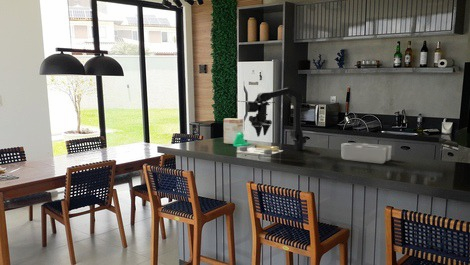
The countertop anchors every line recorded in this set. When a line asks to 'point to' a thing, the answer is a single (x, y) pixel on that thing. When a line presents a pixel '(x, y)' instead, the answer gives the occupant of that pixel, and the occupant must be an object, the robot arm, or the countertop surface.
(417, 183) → the countertop surface
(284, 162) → the countertop surface
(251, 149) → the leveling plate
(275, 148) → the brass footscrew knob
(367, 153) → the ice cube tray
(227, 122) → the coffeecake box
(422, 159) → the countertop surface
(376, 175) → the countertop surface
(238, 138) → the green tapered piece
